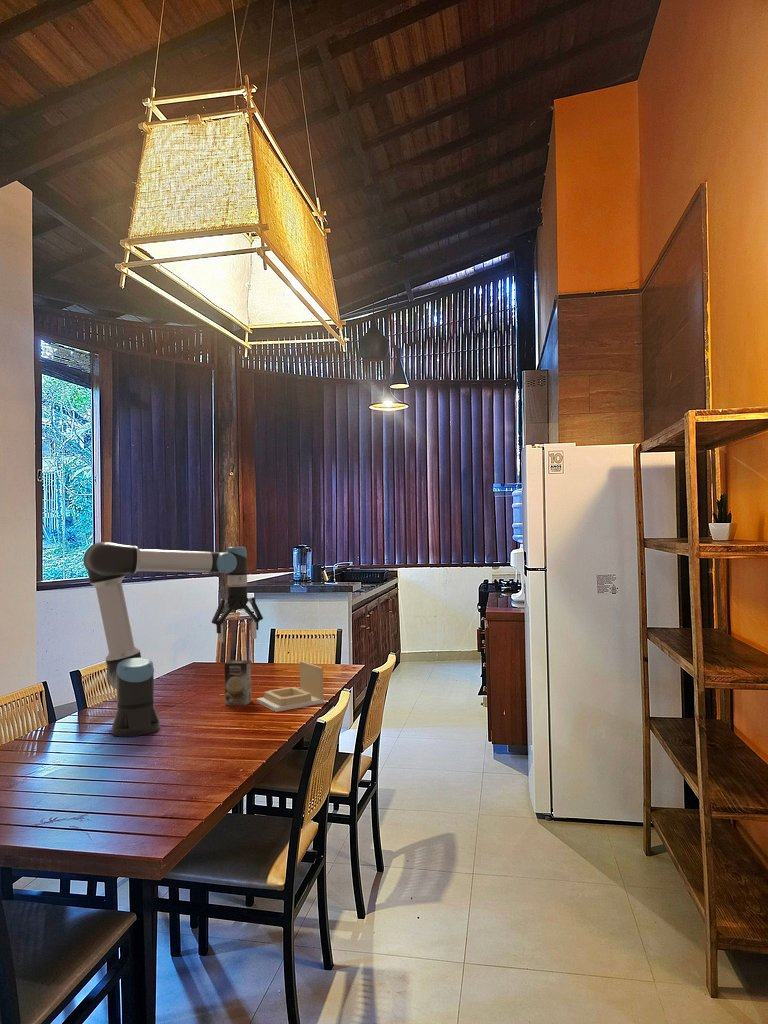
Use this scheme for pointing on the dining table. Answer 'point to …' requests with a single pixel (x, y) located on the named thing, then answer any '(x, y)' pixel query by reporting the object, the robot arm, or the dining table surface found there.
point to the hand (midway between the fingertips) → (237, 640)
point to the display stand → (297, 691)
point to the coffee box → (237, 682)
